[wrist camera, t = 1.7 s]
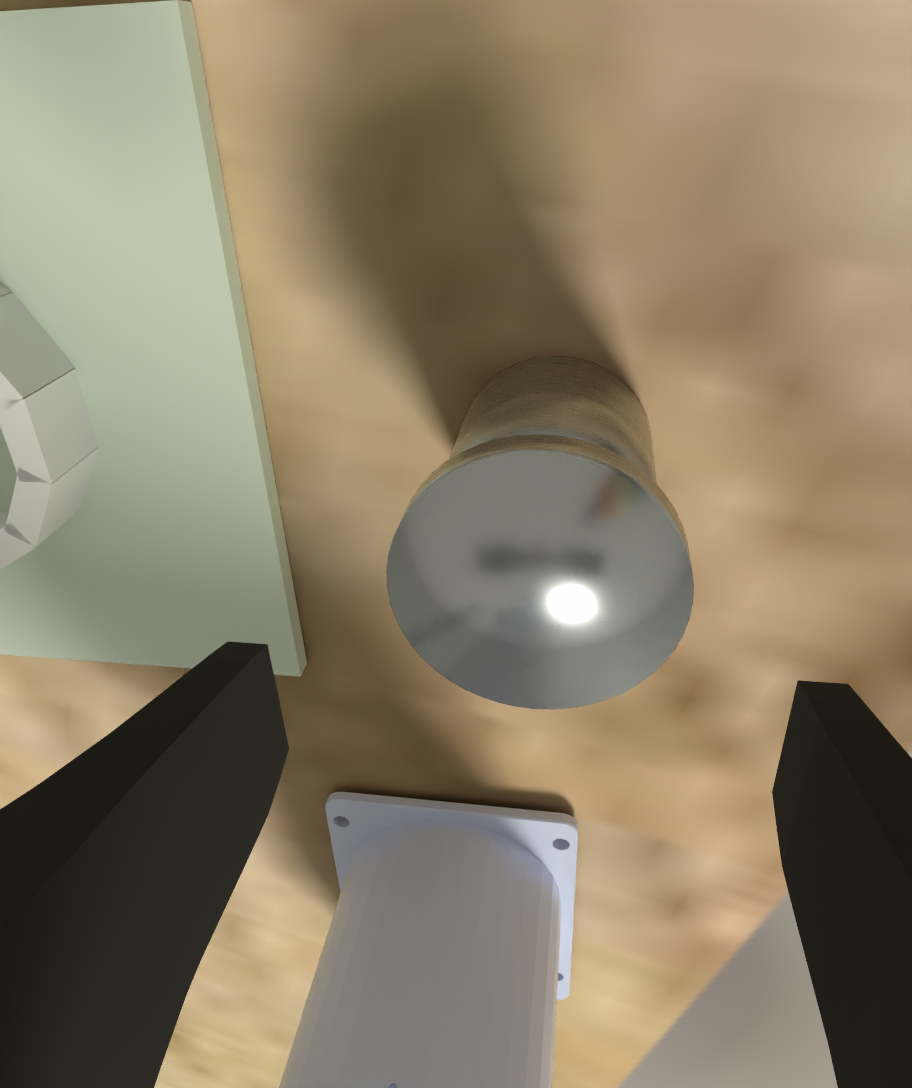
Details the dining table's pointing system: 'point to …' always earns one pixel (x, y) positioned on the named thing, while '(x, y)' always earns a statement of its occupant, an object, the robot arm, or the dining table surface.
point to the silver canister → (544, 544)
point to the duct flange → (127, 357)
